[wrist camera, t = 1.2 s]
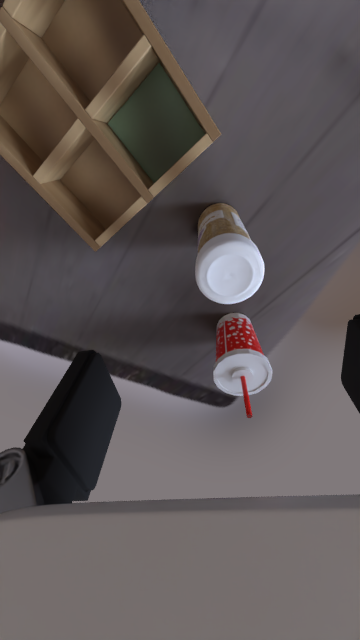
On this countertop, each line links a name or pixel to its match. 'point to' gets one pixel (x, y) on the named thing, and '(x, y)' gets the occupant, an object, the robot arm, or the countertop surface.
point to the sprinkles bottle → (226, 257)
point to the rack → (94, 109)
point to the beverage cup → (240, 359)
